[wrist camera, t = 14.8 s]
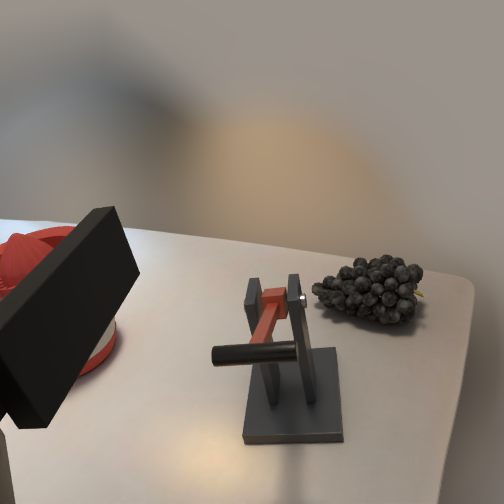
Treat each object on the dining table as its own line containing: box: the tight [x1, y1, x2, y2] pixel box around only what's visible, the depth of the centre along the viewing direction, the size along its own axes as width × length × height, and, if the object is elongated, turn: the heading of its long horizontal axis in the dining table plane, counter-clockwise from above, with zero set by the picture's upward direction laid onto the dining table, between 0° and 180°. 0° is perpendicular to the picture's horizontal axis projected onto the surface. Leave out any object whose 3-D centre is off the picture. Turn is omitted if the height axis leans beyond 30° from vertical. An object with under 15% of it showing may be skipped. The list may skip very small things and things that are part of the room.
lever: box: [211, 287, 299, 367], centre depth 37 cm, size 14×6×2 cm, turn 174°
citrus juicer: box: [0, 226, 116, 376], centre depth 57 cm, size 16×17×20 cm
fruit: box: [312, 255, 424, 324], centre depth 57 cm, size 9×8×15 cm
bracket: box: [242, 274, 343, 444], centre depth 45 cm, size 12×10×15 cm
